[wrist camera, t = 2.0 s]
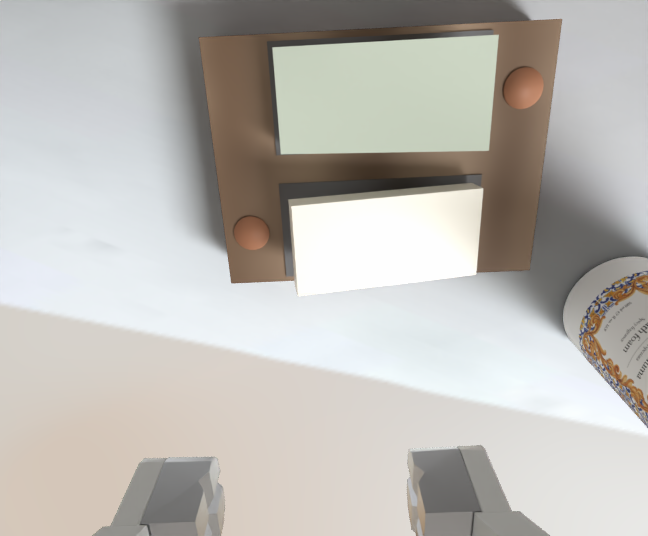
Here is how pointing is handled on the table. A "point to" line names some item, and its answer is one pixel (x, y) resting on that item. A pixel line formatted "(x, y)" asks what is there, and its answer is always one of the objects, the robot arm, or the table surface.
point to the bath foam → (614, 326)
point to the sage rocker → (386, 95)
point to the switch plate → (374, 168)
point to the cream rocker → (384, 237)
